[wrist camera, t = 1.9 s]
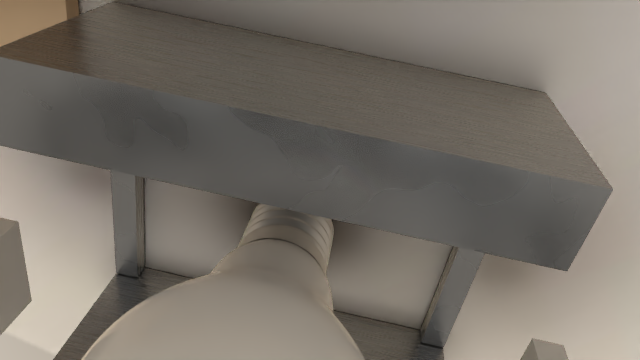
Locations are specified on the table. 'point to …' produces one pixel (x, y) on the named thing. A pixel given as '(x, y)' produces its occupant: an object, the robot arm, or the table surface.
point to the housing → (299, 149)
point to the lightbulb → (244, 303)
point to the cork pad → (32, 16)
